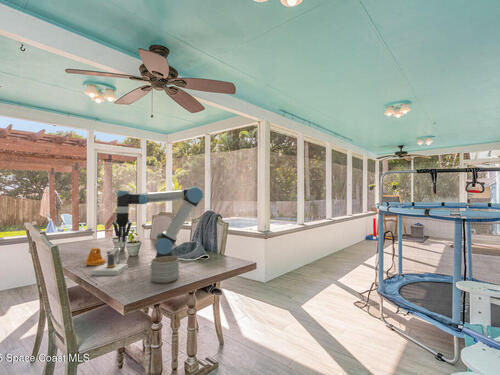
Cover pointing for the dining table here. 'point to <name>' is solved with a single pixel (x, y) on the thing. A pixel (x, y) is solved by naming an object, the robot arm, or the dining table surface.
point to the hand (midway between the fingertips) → (121, 246)
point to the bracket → (95, 257)
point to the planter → (164, 269)
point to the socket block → (109, 269)
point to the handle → (116, 254)
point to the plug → (110, 260)
